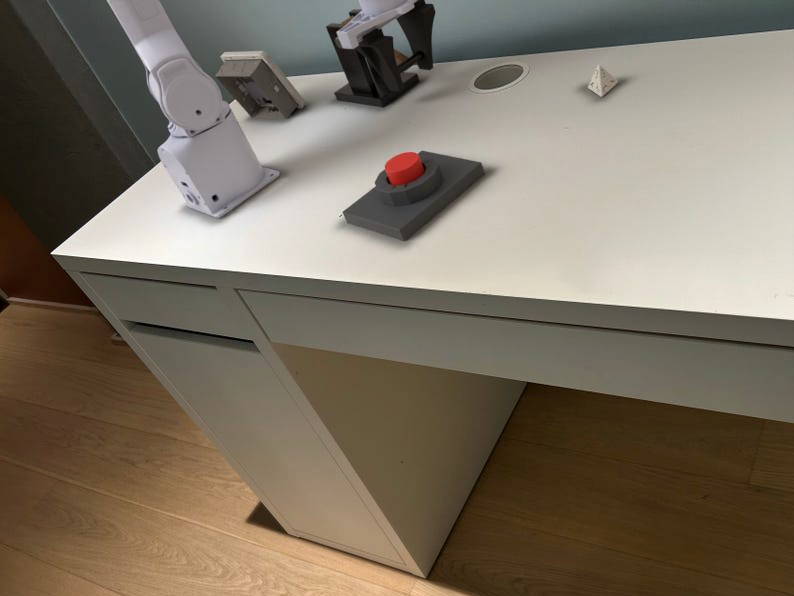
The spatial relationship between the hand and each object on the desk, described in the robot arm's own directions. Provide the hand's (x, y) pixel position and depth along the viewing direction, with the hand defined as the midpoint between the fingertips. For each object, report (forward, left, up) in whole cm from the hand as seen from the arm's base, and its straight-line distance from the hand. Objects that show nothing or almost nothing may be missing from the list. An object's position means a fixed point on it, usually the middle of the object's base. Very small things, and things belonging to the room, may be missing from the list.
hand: (411, 79), depth 91 cm
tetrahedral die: (+6, -24, -3) cm, 25 cm away
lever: (0, +5, +3) cm, 6 cm away
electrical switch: (-9, +21, -3) cm, 23 cm away
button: (-18, -18, 0) cm, 25 cm away
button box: (-18, -18, -2) cm, 26 cm away
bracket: (0, +8, -2) cm, 8 cm away
